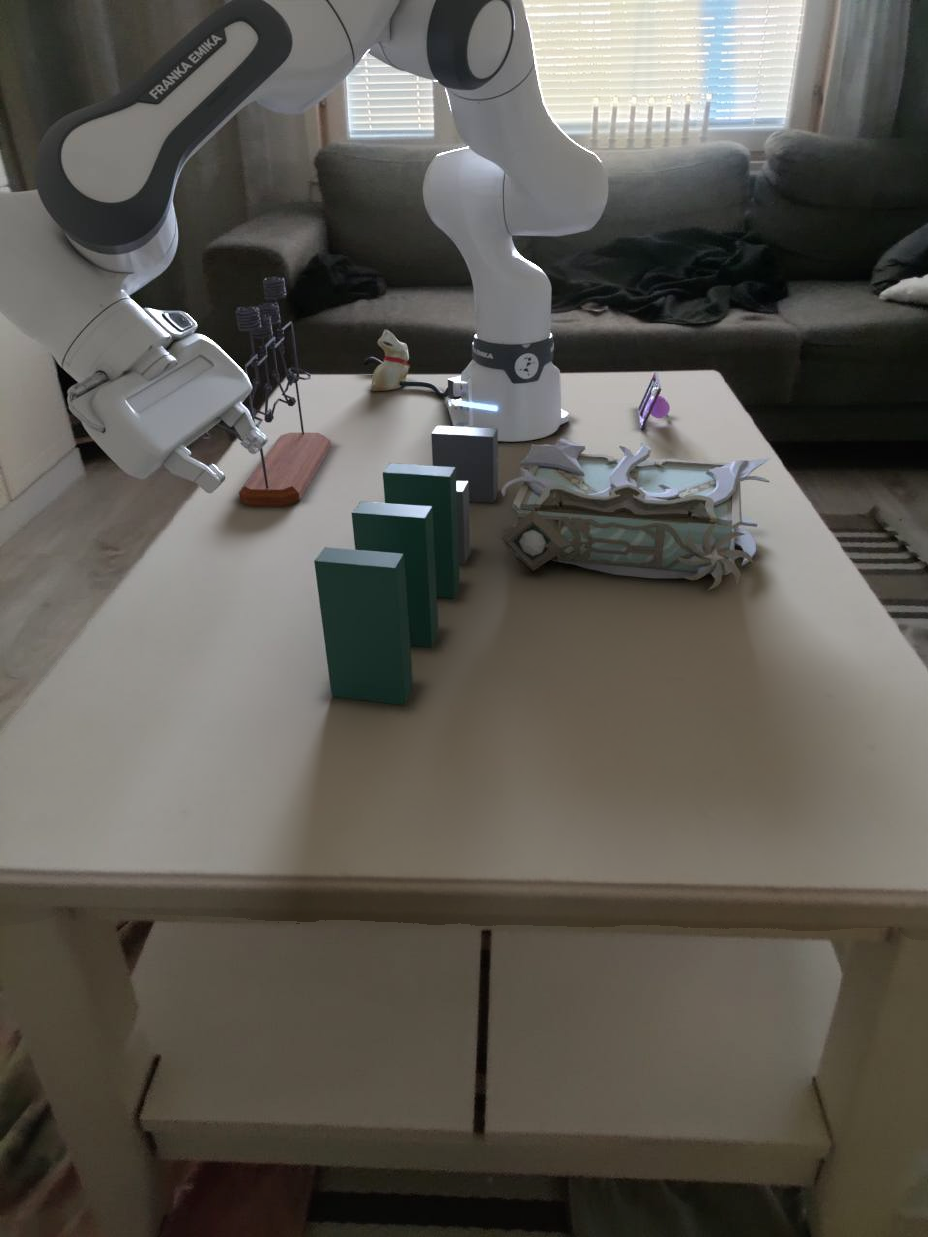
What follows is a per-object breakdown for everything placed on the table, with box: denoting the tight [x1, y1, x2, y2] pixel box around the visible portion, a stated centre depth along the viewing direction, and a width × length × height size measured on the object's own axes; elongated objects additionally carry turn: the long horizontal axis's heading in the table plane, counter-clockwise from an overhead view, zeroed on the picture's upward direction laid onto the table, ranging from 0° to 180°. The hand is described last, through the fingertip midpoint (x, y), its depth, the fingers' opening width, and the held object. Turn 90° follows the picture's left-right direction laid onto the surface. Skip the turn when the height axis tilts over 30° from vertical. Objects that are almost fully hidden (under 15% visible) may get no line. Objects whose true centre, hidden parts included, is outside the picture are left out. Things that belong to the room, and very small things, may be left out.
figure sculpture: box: [198, 276, 331, 507], centre depth 117 cm, size 35×9×25 cm, turn 175°
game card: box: [637, 371, 671, 430], centre depth 139 cm, size 7×5×9 cm
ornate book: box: [499, 437, 771, 591], centre depth 103 cm, size 23×10×30 cm
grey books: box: [430, 425, 499, 565], centre depth 108 cm, size 20×8×9 cm, turn 167°
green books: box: [313, 462, 461, 706], centre depth 85 cm, size 22×7×14 cm, turn 167°
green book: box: [351, 500, 439, 648], centre depth 85 cm, size 3×7×14 cm, turn 77°
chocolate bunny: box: [370, 329, 411, 392], centre depth 156 cm, size 6×8×10 cm
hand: (241, 466), depth 84 cm, fingers open, 8 cm apart
